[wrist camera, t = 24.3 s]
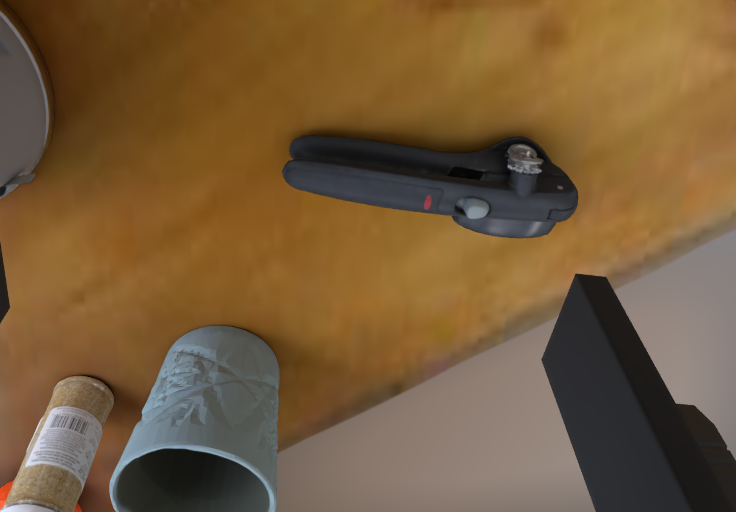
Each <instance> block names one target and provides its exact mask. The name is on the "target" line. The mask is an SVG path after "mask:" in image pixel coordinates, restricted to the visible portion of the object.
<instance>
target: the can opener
mask: <svg viewBox="0 0 736 512" xmlns="http://www.w3.org/2000/svg"><path fill="white" fill-rule="evenodd" d="M289 152H290V155H291V157H292V159H293V160H291V161H288V162H287V163H286V164H285V166H284V168H283V170H282V174H283V177H284V179H285V181H286V182H287V183H288V184H289V185H290V186H292V187H294V188H296V189H299V190H302V191H306V192H311V193H314V194H319V195H323V196H327V197H332V198H336V199H341V200H346V201H351V202H356V203H362V204H367V205H373V206H379V207H385V208H392V209H399V210H407V211H414V212H423V213H432V214H440V215H450V216H452V218H453V220H454V221H455V222H456V223H457V224H459V225H460V226H463V227H464V228H467V229H470V230H472V231H475V232H478V233H483V234H486V235H491V236H498V237H508V238H534V237H540V236H543V235H547V234H548V233H549V232H550V231H551V230H552V228H553V227H554V226H555V224H556V222H561V221H564V220H567V219H568V218H569V217H570V216H571V215H572V214H573V213H574V212H575V210H576V208H577V205H578V191H577V189H576V187H575V185H574V184H573V183H572V181H571V180H570V178H569V177H568V176H567V174H566V173H565V172H564V171H563V170H561V169H560V168H559V167H557V166H556V165H554V164H553V163H552V162H551V161H550V159H549V157H548V156H547V155H546V153H545V152H544V150H543V149H542V148H541V147H540V146H539V145H538V144H536V143H535V142H534V141H532V140H530V139H528V138H524V137H512V138H508V139H505V140H503V141H501V142H499V143H497V144H495V145H493V146H491V147H490V148H488V149H485V150H483V151H478V152H467V153H451V152H440V151H433V150H428V149H422V148H416V147H410V146H404V145H398V144H392V143H385V142H379V141H372V140H364V139H355V138H343V137H328V136H303V137H299V138H297V139H295V140H294V141H293V142H292V143H291V145H290V147H289Z"/></svg>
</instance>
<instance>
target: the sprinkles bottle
mask: <svg viewBox="0 0 736 512" xmlns="http://www.w3.org/2000/svg"><path fill="white" fill-rule="evenodd" d="M113 405H114V396H113V394H112V392H111V391H110V389H109V388H108V387H107V386H106V385H105V384H104V383H102V382H101V381H99V380H96V379H94V378H90V377H86V376H71V377H68V378H66V379H63V380H61V381H60V382H59V383H58V384H57V385H56V387H55V388H54V390H53V396H52V399H51V401H50V404H49V406H48V408H47V410H46V412H45V414H44V416H43V417H42V419H41V420H40V423H39V425H38V427H37V429H36V431H35V433H34V436H33V438H32V440H31V442H30V445H29V447H28V449H27V452H26V456H25V458H24V460H23V463H22V464H21V467H20V469H19V471H18V474H17V476H16V478H15V481H14V483H13V485H12V488H11V490H10V492H9V494H8V497H7V499H6V501H5V504H4V506H3V507H2V508H1V509H0V512H74V510H75V507H76V504H77V501H78V499H79V496H80V495H81V493H82V490H83V487H84V485H85V482H86V479H87V476H88V473H89V470H90V467H91V464H92V462H93V459H94V456H95V453H96V451H97V448H98V445H99V442H100V440H101V437H102V431H103V428H104V425H105V422H106V420H107V417H108V414H109V412H110V411H111V409H112V407H113Z"/></svg>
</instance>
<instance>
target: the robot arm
mask: <svg viewBox="0 0 736 512" xmlns="http://www.w3.org/2000/svg"><path fill="white" fill-rule="evenodd" d="M54 116H55V108H54V96H53V89H52V85H51V81H50V76H49V74H48V71H47V68H46V65H45V62H44V60H43V58H42V56H41V53H40V51H39V49H38V48H37V46H36V44H35V42H34V40H33V39H32V37H31V35H30V34H29V32H28V31H27V29H26V28H25V27H24V25H23V24H22V22H21V21H20V20H19V19H18V17H17V16H16V15H15V14H14V12H13V11H12V10H11V9H10V8H9V7H8V6H7V5H6V4H5V3H4V2H3V1H2V0H0V199H2V198H3V197H5V196H6V195H8V194H9V193H10V192H11V191H13V190H14V189H15V188H17V187H18V186H19V185H20V184H23V183H30V182H31V181H32V179H33V178H34V177H35V175H36V174H37V173H35V174H30V173H31V172H32V171H33V170H34V168H35V167H36V166H37V164H38V163H39V162H40V160H41V158H42V157H43V155H44V153H45V151H46V149H47V147H48V145H49V142H50V139H51V136H52V131H53V126H54ZM9 308H10V304H9V298H8V291H7V284H6V277H5V271H4V264H3V257H2V250H1V244H0V323H1V321H2V320H3V318H4V316H5V315H6V313H7V312H8V310H9ZM542 363H543V365H544V368H545V371H546V374H547V377H548V379H549V382H550V385H551V388H552V391H553V393H554V396H555V399H556V402H557V404H558V407H559V410H560V413H561V415H562V418H563V421H564V424H565V427H566V430H567V432H568V435H569V438H570V441H571V444H572V446H573V449H574V452H575V455H576V457H577V460H578V463H579V466H580V469H581V471H582V474H583V477H584V480H585V483H586V485H587V488H588V491H589V494H590V496H591V499H592V502H593V505H594V508H595V510H596V512H736V460H735V459H734V457H733V455H732V454H731V452H730V451H729V450H727V445H726V444H725V442H724V440H723V439H722V437H721V435H720V433H719V432H718V430H717V428H716V427H715V425H714V424H713V423H712V422H711V421H710V420H709V419H708V418H707V417H706V416H705V415H704V414H703V413H702V412H700V411H699V410H698V409H697V408H696V407H695V406H694V405H685V404H676V403H675V401H674V400H673V398H672V396H671V394H670V392H669V391H668V389H667V387H666V385H665V383H664V381H663V380H662V378H661V376H660V374H659V372H658V370H657V369H656V367H655V365H654V363H653V361H652V360H651V358H650V356H649V354H648V352H647V350H646V349H645V347H644V345H643V343H642V341H641V340H640V338H639V336H638V334H637V332H636V330H635V329H634V327H633V325H632V323H631V321H630V320H629V318H628V316H627V314H626V312H625V310H624V309H623V307H622V305H621V303H620V301H619V300H618V298H617V296H616V294H615V292H614V290H613V289H612V287H611V285H610V283H609V281H608V279H607V278H606V277H601V276H592V275H584V274H575V277H574V279H573V282H572V284H571V287H570V289H569V292H568V294H567V297H566V299H565V302H564V304H563V307H562V309H561V312H560V314H559V317H558V319H557V322H556V324H555V327H554V330H553V332H552V335H551V337H550V340H549V342H548V345H547V347H546V350H545V352H544V355H543V357H542Z"/></svg>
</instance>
